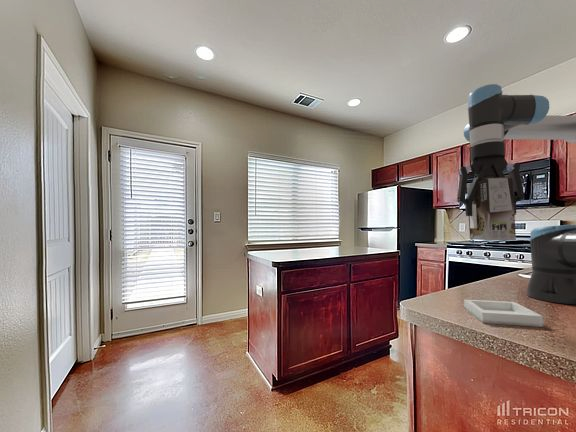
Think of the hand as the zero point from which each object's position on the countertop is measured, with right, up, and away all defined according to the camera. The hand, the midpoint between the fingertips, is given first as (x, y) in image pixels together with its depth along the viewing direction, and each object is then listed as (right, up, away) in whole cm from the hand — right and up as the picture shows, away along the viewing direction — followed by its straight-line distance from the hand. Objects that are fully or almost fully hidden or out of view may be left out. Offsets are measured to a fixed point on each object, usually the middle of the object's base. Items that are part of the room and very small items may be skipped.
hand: (490, 227), depth 72 cm
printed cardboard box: (0, -3, 0) cm, 3 cm away
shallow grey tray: (+1, -23, -2) cm, 23 cm away
